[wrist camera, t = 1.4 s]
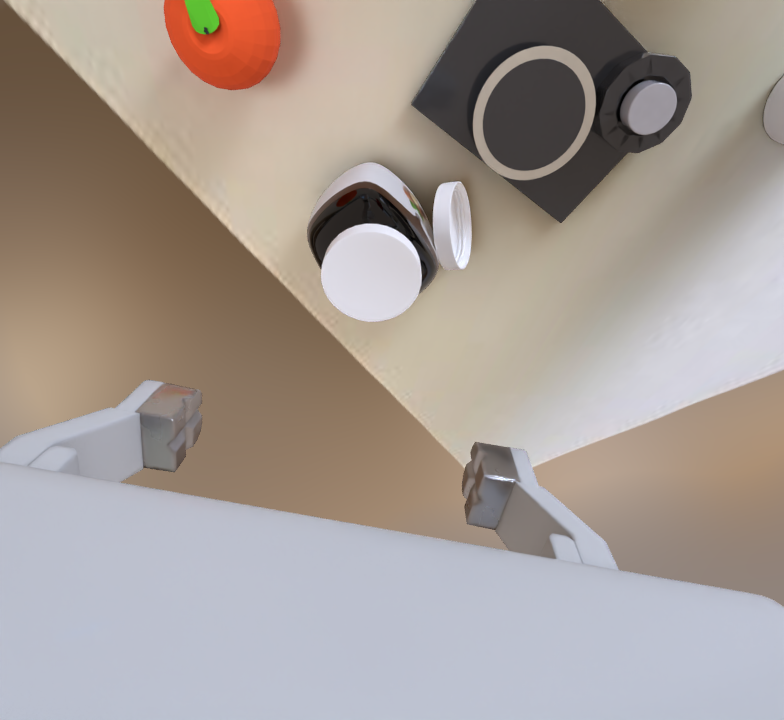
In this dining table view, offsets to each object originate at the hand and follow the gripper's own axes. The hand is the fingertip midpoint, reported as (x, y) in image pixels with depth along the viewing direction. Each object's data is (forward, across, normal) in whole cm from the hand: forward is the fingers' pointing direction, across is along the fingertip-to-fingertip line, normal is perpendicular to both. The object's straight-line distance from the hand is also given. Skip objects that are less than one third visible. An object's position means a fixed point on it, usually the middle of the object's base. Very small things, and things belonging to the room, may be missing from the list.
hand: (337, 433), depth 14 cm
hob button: (+27, -16, -13) cm, 34 cm away
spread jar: (+30, -1, -2) cm, 31 cm away
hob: (+29, -10, -12) cm, 33 cm away
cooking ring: (+27, -9, -11) cm, 30 cm away
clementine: (+28, +13, -13) cm, 33 cm away
